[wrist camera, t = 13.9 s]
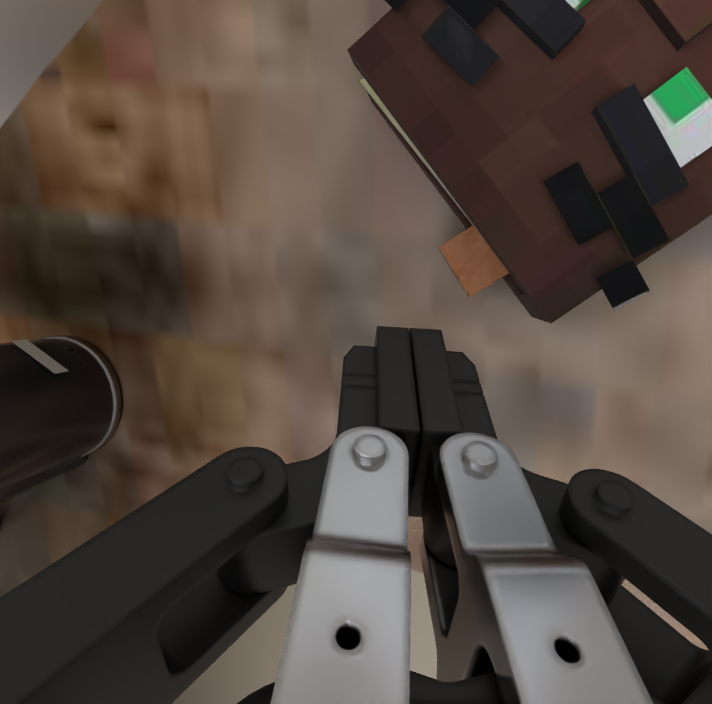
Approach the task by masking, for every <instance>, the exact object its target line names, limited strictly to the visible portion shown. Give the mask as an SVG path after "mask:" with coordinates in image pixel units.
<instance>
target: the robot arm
mask: <svg viewBox="0 0 712 704" xmlns="http://www.w3.org/2000/svg"><path fill="white" fill-rule="evenodd" d="M120 414H121V392H120V387H119V383H118V380H117V377H116V375H115V373H114V371H113V369H112V367H111V365H110V364H109V362H108V361H107V360H106V358H105V357H104V356H103V355H102V354H101V353H100V352H99V351H98V350H97V349H96V348H94V347H93V346H92V345H90V344H89V343H87V342H85V341H83V340H81V339H78V338H75V337H70V336H54V337H46V338H42V339H38V340H30V341H28V340H27V339H22V340H13V341H12V342H9V343H0V503H1V502H4V501H6V500H8V499H10V498H12V497H15V496H17V495H19V494H21V493H23V492H26V491H28V490H30V489H32V487H34V486H36V485H38V484H41V483H43V482H45V481H47V480H49V479H52V478H54V477H56V476H58V475H60V474H63V473H65V472H67V471H69V470H71V469H74V468H76V467H78V466H80V465H82V464H84V463H85V460H86V457H87V455H88V454H90V453H92V452H94V451H96V450H98V449H100V448H101V447H102V446H104V445H105V444H106V443H107V442H108V441H109V439H110V438H111V437H112V435H113V434H114V432H115V430H116V428H117V425H118V422H119V419H120ZM408 514H409V516H415V517H422V521H423V531H424V532H423V536H422V541H421V547H420V554H421V560H422V566H423V572H424V577H425V583H426V589H427V594H428V601H429V606H430V612H431V618H432V623H433V629H434V635H435V641H436V648H437V680H436V679H433V678H430V677H427V676H424V675H421V674H419V673H416V672H413V671H410V611H411V610H410V609H411V555H410V551H407V520H408ZM625 578H626V579H627V580H628V581H629V582H630V583H632V584H633V585H634V586H635V587H637V588H638V589H639V590H640V591H642V592H643V593H644V594H645V595H646V596H648V597H649V598H650V599H651V600H653V601H654V602H655V603H656V604H658V605H659V606H660V607H661V608H662V609H664V610H665V611H666V612H667V613H669V614H670V615H671V616H672V617H674V618H675V619H676V620H677V621H678V622H680V623H681V624H682V625H683V626H685V627H686V628H687V629H688V630H690V631H691V632H692V633H693V634H694V635H696V636H697V637H698V638H699V639H700V640H701V641H702V642H703V643H704V644H705V645H706V646H707V648H708V649H709V651H708V650H704V649H702V648H699V647H697V646H696V645H694V644H692V643H691V642H690V641H688V640H687V639H686V638H685V637H683V636H682V635H681V634H680V633H679V632H677V631H676V630H675V629H674V628H673V627H671V626H670V625H669V624H668V623H667V622H665V621H664V620H663V619H662V618H660V617H659V616H658V615H657V614H656V613H654V612H653V611H652V610H651V609H650V608H648V607H647V606H646V605H645V604H644V603H642V602H641V601H640V600H639V599H637V598H636V597H635V596H634V595H633V594H631V593H630V592H629V591H628V590H627V589H625V588H624V587H623V586H622V585H621V584H622V583H623V581H624V580H625ZM293 584H297V585H296V590H295V594H294V599H293V604H292V608H291V613H290V617H289V622H288V627H287V631H286V636H285V640H284V645H283V649H282V654H281V658H280V663H279V668H278V672H277V677H276V681H275V682H274V683H271V684H269V685H266V686H264V687H262V688H261V689H259V690H257V691H255V692H253V693H251V694H250V695H248V696H247V697H246V698H244V699H243V700H241V701H240V702H238V703H237V704H712V534H710V533H709V532H707V531H706V530H704V529H703V528H701V527H700V526H698V525H697V524H695V523H694V522H692V521H691V520H689V519H688V518H686V517H685V516H683V515H682V514H680V513H679V512H677V511H676V510H674V509H673V508H671V507H670V506H668V505H667V504H665V503H664V502H662V501H661V500H659V499H658V498H656V497H655V496H653V495H652V494H650V493H649V492H647V491H646V490H644V489H643V488H641V487H640V486H639V485H637V484H636V483H634V482H632V481H631V480H629V479H627V478H625V477H623V476H621V475H619V474H616V473H614V472H610V471H606V470H600V469H587V470H583V471H580V472H578V473H576V474H575V475H574V476H573V477H572V478H571V480H570V481H569V484H566V483H563V482H560V481H557V480H553V479H550V478H547V477H544V476H540V475H537V474H535V473H532V472H530V471H528V470H526V469H524V468H522V467H520V465H519V462H518V460H517V458H516V456H515V455H514V453H513V452H512V451H511V450H510V449H509V448H508V447H507V446H506V445H505V444H503V443H502V442H500V441H499V440H497V437H496V434H495V430H494V427H493V424H492V420H491V417H490V414H489V410H488V407H487V404H486V400H485V397H484V396H483V391H482V387H481V384H480V383H479V377H478V374H477V371H476V367H475V365H474V364H473V363H472V362H471V361H470V360H469V359H468V358H467V357H466V356H465V355H464V354H463V352H452V351H446V348H445V344H444V340H443V335H442V331H441V330H433V329H418V328H410V329H409V332H408V328H400V327H384V326H377V330H376V340H375V347H370V346H353V347H352V348H351V350H350V351H349V352H348V353H347V354H346V355H345V357H344V361H343V373H342V383H341V395H340V406H339V417H338V428H337V435H336V438H335V440H334V442H333V443H332V445H331V446H330V447H329V448H328V449H327V450H326V451H324V452H323V453H321V454H320V455H318V456H316V457H313V458H311V459H308V460H304V461H299V462H294V463H289V464H285V463H284V461H283V460H282V459H281V458H280V457H279V456H278V455H277V454H275V453H274V452H272V451H270V450H267V449H264V448H260V447H242V448H236V449H233V450H230V451H227V452H225V453H223V454H221V455H220V456H218V457H216V458H215V459H213V460H212V461H210V462H209V463H207V464H206V465H204V466H203V467H201V468H199V469H198V470H196V471H195V472H193V473H192V474H190V475H189V476H187V477H186V478H184V479H183V480H181V481H179V482H178V483H176V484H175V485H173V486H172V487H170V488H169V489H167V490H166V491H164V492H162V493H161V494H159V495H158V496H156V497H155V498H153V499H152V500H150V501H149V502H147V503H146V504H144V505H142V506H141V507H139V508H138V509H136V510H135V511H133V512H132V513H130V514H129V515H127V516H125V517H124V518H122V519H121V520H119V521H118V522H116V523H115V524H113V525H112V526H110V527H109V528H107V529H105V530H104V531H102V532H101V533H99V534H98V535H96V536H95V537H93V538H92V539H90V540H88V541H87V542H85V543H84V544H82V545H81V546H79V547H78V548H76V549H75V550H73V551H72V552H70V553H68V554H67V555H65V556H64V557H62V558H61V559H59V560H58V561H56V562H55V563H53V564H51V565H50V566H48V567H47V568H45V569H44V570H42V571H41V572H39V573H38V574H36V575H35V576H33V577H31V578H30V579H28V580H27V581H25V582H24V583H22V584H21V585H19V586H18V587H16V588H14V589H13V590H11V591H10V592H8V593H7V594H5V595H4V596H2V597H1V598H0V704H172V703H173V702H174V701H175V700H176V699H177V698H178V697H179V696H180V695H181V694H182V693H183V692H184V691H185V690H186V689H187V688H188V687H189V686H190V685H191V684H192V683H193V682H194V681H195V680H196V679H197V678H198V677H199V676H200V675H201V674H202V673H203V672H204V671H205V670H206V669H207V668H208V667H209V666H210V665H211V664H213V663H214V662H215V661H216V659H218V657H220V656H221V655H222V654H223V653H224V652H225V651H226V650H227V649H228V648H229V647H230V646H231V645H232V644H233V643H234V642H235V641H236V640H237V639H238V638H239V637H240V636H241V635H242V634H243V633H244V632H245V631H246V630H247V629H248V628H249V627H250V626H251V625H252V624H253V623H254V622H255V621H256V620H258V618H260V617H261V616H262V615H263V614H264V613H265V612H266V611H267V610H268V609H269V608H270V607H271V606H272V605H273V604H274V603H275V602H276V601H277V600H278V599H279V598H280V597H281V596H282V595H283V593H284V592H285V590H286V589H287V586H290V585H293Z"/></svg>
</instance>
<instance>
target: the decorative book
mask: <svg viewBox="0 0 712 704" xmlns="http://www.w3.org/2000/svg"><path fill="white" fill-rule="evenodd" d="M385 1H386V2H387V3H388V4H389V5H390V6H391V7H392V9H391V10H390V11H389V12H388V13H387V14H386V15H384V16H383V17H382V18H381V19H380V20H379V21H378V22H377V23H376V24H375V25H374V26H373V27H372V28H370V29H369V30H368V31H367V32H366V33H365V34H364V35H363V36H362V37H361V38H360V39H359V40H358V41H357V42H355V43H354V44H353V45H352V46H351V47H350V48H349V49H348V52H349V54H350V56H351V59H352V61H353V63H354V65H355V66H356V68H357V69H358V70H359V72H360V73H361V75H362V76H363V78H362V79H360V80H359V81H360V83H361V84H362V85H363V87H364V88H365V89H366V91H367V93H368V95H369V97H370V99H371V101H372V103H373V104H374V106H375V107H376V108H377V110H378V111H379V112H380V114H381V115H382V116H383V118H384V119H385V120H386V122H387V123H388V124H389V126H390V127H391V128H392V130H393V131H394V132H395V134H396V135H397V136H398V138H399V139H400V140H401V142H402V143H403V144H404V146H405V147H406V148H407V150H408V151H409V153H410V154H411V155H412V157H413V158H414V159H415V161H416V162H417V163H418V165H419V166H420V167H421V169H422V170H423V171H424V173H425V174H426V175H427V177H428V178H429V179H430V181H431V182H432V183H433V185H434V186H435V187H436V189H437V190H438V191H439V193H440V194H441V196H442V197H443V198H444V200H445V201H446V202H447V204H448V205H449V206H450V208H451V209H452V210H453V212H454V213H455V214H456V216H457V217H458V218H459V220H460V221H461V222H462V224H463V225H464V226H465V228H466V230H465V231H463V232H462V233H460V234H459V235H457V236H456V237H454V238H452V239H451V240H449V241H448V242H446V243H445V244H443V245H441V246H440V247H438V248H439V250H440V251H441V253H442V255H443V256H444V258H445V260H446V261H447V263H448V265H449V266H450V268H451V270H452V271H453V273H454V274H455V276H456V278H457V279H458V281H459V283H460V284H461V286H462V288H463V289H464V291H465V292H466V294H467V296H468V297H470V296H472V295H474V294H475V293H477V292H479V291H480V290H482V289H484V288H485V287H487V286H489V285H490V284H492V283H494V282H495V281H497V280H499V279H500V278H502V277H503V279H504V280H505V281H506V283H507V284H508V285H509V287H510V288H511V290H512V291H513V292H514V294H515V295H516V296H517V298H518V299H519V300H520V302H521V303H522V304H523V306H524V307H525V308H526V310H527V311H528V312H529V314H530V315H531V316H532V317H534V318H537V319H540V320H543V321H546V322H549V323H552V322H554V321H555V320H557V319H558V318H560V317H561V316H563V315H564V314H565V313H567V312H568V311H570V310H571V309H573V308H574V307H576V306H577V305H579V304H580V303H582V302H583V301H585V300H586V299H588V298H589V297H591V296H592V295H594V294H595V293H596V292H598V291H599V290H601V289H603V291H604V293H605V295H606V297H607V299H608V300H609V302H610V304H611V306H612V308H613V309H614V310H616V309H618V308H620V307H622V306H624V305H626V304H628V303H630V302H632V301H634V300H636V299H638V298H640V297H642V296H644V295H646V294H648V293H650V290H649V288H648V287H647V285H646V283H645V281H644V279H643V277H642V276H641V274H640V272H639V270H638V268H637V267H636V265H638V264H639V263H641V262H642V261H644V260H645V259H647V258H648V257H650V256H651V255H653V254H654V253H656V252H657V251H658V250H660V249H661V248H663V247H664V246H666V245H667V244H669V243H670V242H672V241H673V240H675V239H676V238H678V237H679V236H681V235H682V234H684V233H685V232H687V231H688V230H689V229H691V228H692V227H694V226H695V225H697V224H698V223H700V222H701V221H703V220H704V219H706V218H707V217H709V216H710V215H712V0H385Z"/></svg>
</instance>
